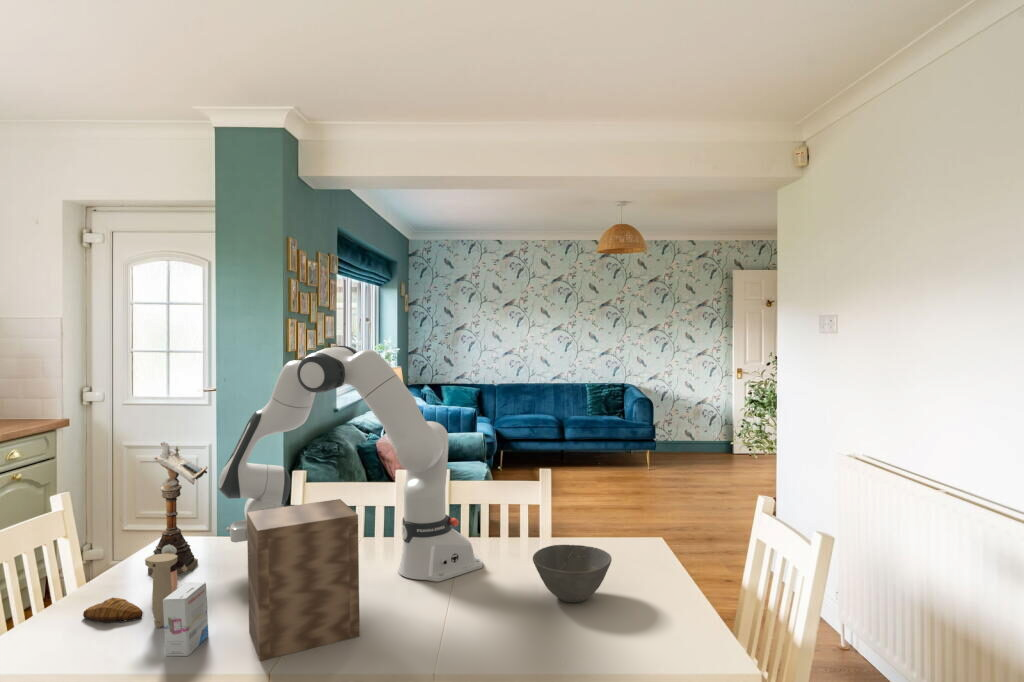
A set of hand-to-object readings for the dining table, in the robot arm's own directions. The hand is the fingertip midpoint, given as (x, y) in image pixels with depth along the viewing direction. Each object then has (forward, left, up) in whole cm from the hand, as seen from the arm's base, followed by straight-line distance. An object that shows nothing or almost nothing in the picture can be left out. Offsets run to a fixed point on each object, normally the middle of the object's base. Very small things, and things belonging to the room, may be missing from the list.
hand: (276, 535), depth 165 cm
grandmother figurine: (+24, -6, -13) cm, 28 cm away
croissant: (+36, +1, -13) cm, 38 cm away
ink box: (+22, +23, -13) cm, 34 cm away
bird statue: (+20, -25, -13) cm, 34 cm away
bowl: (-60, +44, -13) cm, 76 cm away
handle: (+26, +10, -13) cm, 31 cm away
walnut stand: (0, +30, -12) cm, 33 cm away
